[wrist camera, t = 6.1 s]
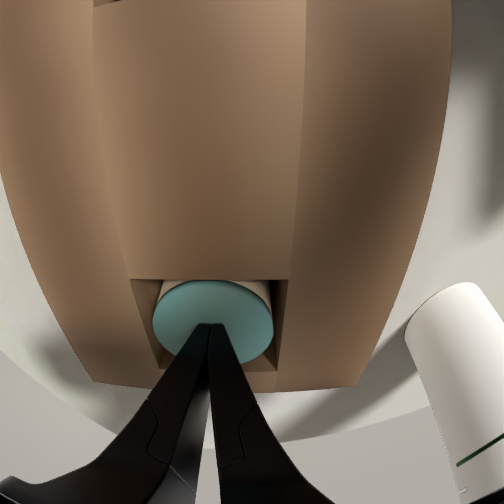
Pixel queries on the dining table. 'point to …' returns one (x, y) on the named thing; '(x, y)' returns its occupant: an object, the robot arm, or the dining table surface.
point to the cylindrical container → (464, 382)
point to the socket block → (222, 167)
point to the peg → (215, 313)
